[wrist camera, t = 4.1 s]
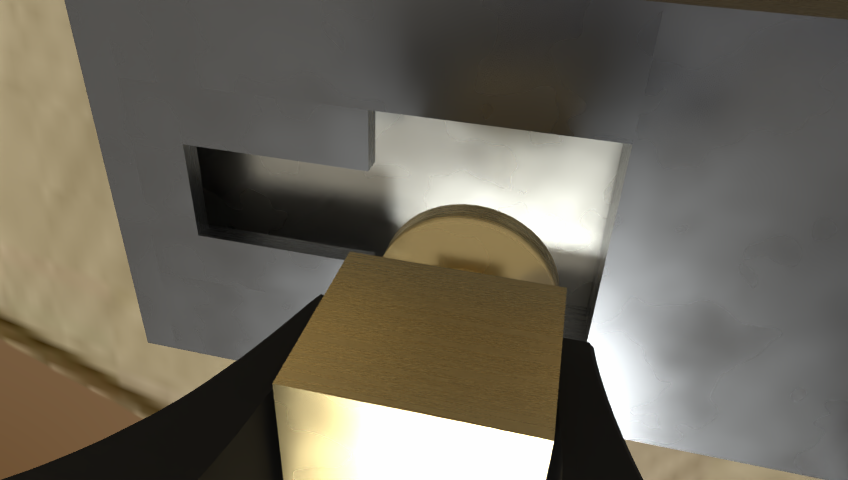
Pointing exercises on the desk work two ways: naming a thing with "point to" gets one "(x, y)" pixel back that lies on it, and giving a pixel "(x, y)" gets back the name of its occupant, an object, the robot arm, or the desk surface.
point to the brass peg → (429, 358)
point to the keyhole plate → (508, 181)
